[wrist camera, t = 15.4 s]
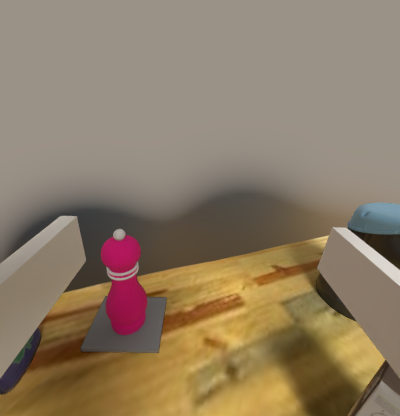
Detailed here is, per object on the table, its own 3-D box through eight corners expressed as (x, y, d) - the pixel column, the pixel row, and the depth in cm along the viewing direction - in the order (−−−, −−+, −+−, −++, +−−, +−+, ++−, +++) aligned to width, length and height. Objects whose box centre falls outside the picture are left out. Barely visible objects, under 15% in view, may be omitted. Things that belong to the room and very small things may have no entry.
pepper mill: (103, 317, 41) (86, 226, 32) (138, 298, 45) (131, 215, 37) (117, 346, 36) (102, 249, 27) (155, 322, 40) (151, 232, 32)
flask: (29, 333, 38) (10, 289, 33) (47, 332, 38) (30, 288, 34) (-9, 397, 30) (-42, 350, 25) (14, 394, 30) (-13, 347, 25)
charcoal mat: (166, 300, 46) (166, 297, 46) (158, 352, 36) (158, 349, 36) (106, 298, 46) (105, 295, 45) (81, 351, 36) (80, 348, 35)
